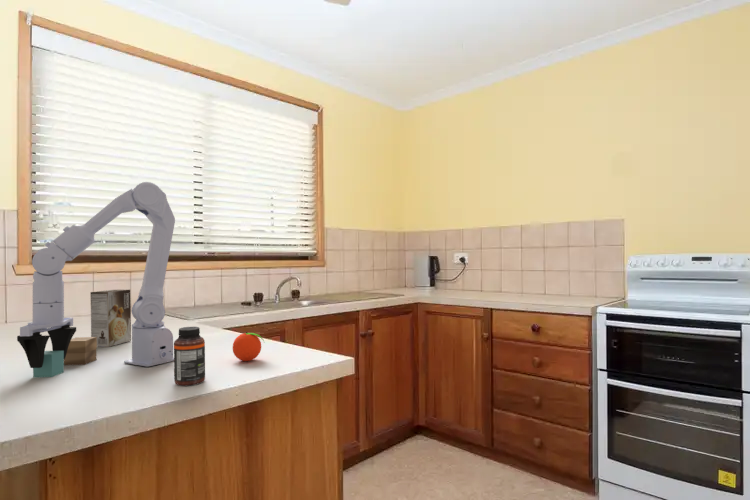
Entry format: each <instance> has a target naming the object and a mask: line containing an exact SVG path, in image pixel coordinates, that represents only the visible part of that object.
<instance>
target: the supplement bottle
mask: <svg viewBox="0 0 750 500" xmlns="http://www.w3.org/2000/svg"><path fill="white" fill-rule="evenodd" d="M200 329H201V328H200V327H199V326H184V327H181V328H180V327H179V328H178V338H177V339H175V340H174V341H173V358H174V361H173V372H174V374H173V376H174V377H173V378H174V384H175V385H177V386H182V387H189V386H195V385H196V386H197V385H199V384H202V383H204V381H205V380H206V346H205V345H206V344H205V339H204V337H202V336H201V330H200Z"/></svg>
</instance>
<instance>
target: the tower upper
mask: <svg viewBox="0 0 750 500" xmlns="http://www.w3.org/2000/svg"><path fill="white" fill-rule="evenodd" d="M97 348H98V346H97V337H91V336H86V337H84V336H82V337H81V336H80V337H74V338H73V337H72V339H71V341H70V343H69V346H68V350H67V353H87V352H90V351H92V350H95V349H97ZM67 353H66V354H67Z"/></svg>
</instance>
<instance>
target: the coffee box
mask: <svg viewBox="0 0 750 500" xmlns="http://www.w3.org/2000/svg"><path fill="white" fill-rule="evenodd" d="M131 316H132V303H131V289H108V290H99V291H91V292H90V337H97V347H105V348H106V347H107V348H109V347H112V346H116V345H120V344H124V343H127V342H132V317H131Z"/></svg>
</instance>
